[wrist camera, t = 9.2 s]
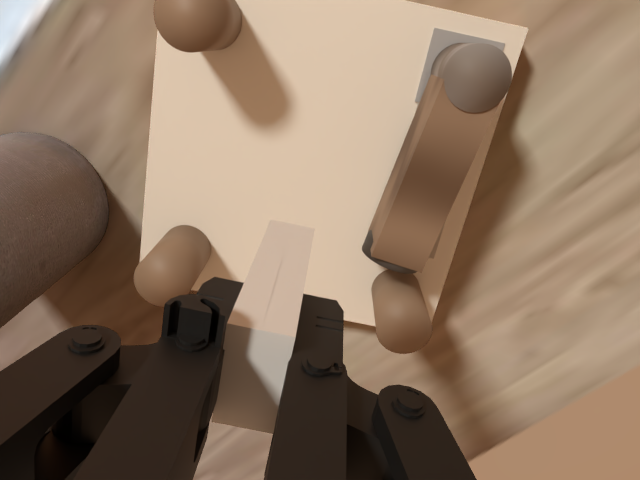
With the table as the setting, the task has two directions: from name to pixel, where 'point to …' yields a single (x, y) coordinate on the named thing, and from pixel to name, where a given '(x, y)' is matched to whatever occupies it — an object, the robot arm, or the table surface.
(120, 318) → the table surface
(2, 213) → the pillar candle
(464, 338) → the table surface
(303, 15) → the stool seat
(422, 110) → the folding leg
